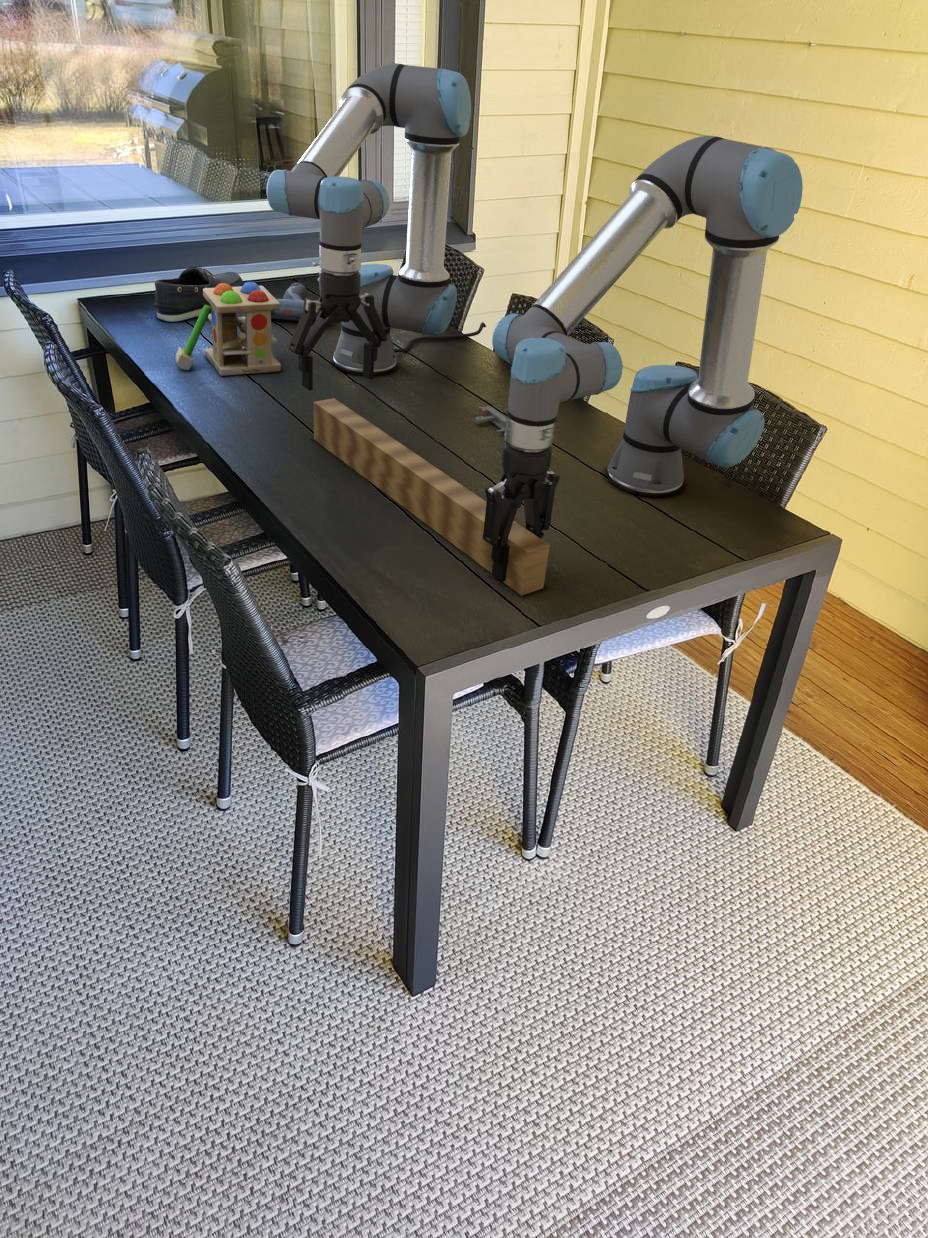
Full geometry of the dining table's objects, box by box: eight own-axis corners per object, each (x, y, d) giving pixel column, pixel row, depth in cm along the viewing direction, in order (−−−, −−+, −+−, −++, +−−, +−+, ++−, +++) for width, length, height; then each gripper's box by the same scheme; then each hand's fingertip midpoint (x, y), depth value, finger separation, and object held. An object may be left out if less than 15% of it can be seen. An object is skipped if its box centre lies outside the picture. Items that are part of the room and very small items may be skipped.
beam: (313, 439, 200) (313, 401, 196) (333, 435, 203) (334, 397, 198) (521, 595, 158) (527, 552, 153) (543, 588, 160) (550, 545, 156)
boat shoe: (262, 300, 274) (260, 262, 268) (174, 323, 250) (170, 282, 245) (229, 292, 279) (226, 254, 274) (139, 314, 256) (134, 273, 250)
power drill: (344, 304, 276) (335, 327, 259) (277, 298, 275) (264, 321, 258) (344, 285, 273) (335, 306, 256) (277, 279, 272) (264, 300, 255)
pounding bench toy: (183, 379, 220) (176, 299, 210) (169, 357, 231) (162, 280, 221) (282, 371, 230) (280, 294, 220) (264, 350, 240) (262, 276, 230)
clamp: (466, 408, 215) (505, 402, 219) (466, 417, 216) (504, 412, 220) (502, 435, 204) (542, 429, 209) (501, 445, 205) (541, 438, 210)
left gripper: (288, 281, 169) (290, 398, 181) (408, 269, 183) (402, 379, 195) (268, 270, 174) (271, 385, 186) (386, 259, 188) (381, 367, 199)
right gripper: (498, 464, 142) (482, 598, 155) (587, 441, 152) (566, 569, 165) (467, 444, 147) (454, 576, 160) (555, 423, 156) (537, 549, 170)
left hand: (338, 382), depth 190 cm, fingers open, 13 cm apart
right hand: (511, 572), depth 162 cm, fingers closed on beam, 5 cm apart
